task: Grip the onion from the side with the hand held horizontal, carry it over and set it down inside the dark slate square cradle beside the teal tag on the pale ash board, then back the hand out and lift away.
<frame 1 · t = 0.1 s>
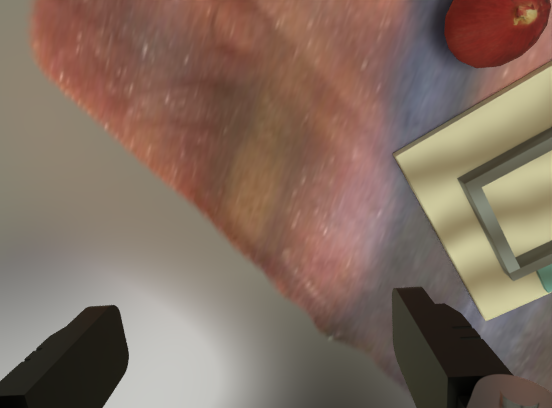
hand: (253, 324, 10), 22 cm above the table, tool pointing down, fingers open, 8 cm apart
onion: (466, 26, 27), on the table
cradle board: (535, 192, 32), on the table
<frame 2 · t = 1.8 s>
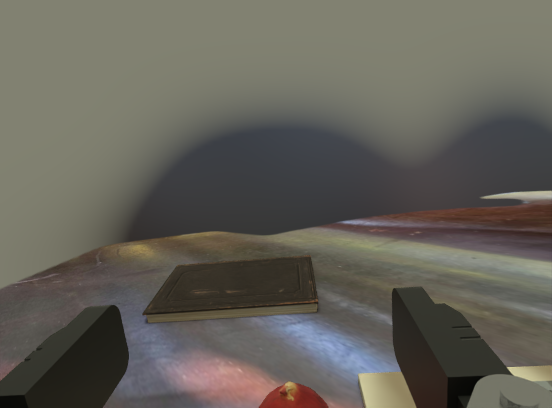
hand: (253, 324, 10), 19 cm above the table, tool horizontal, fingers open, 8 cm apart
hardcover book: (239, 294, 55), on the table
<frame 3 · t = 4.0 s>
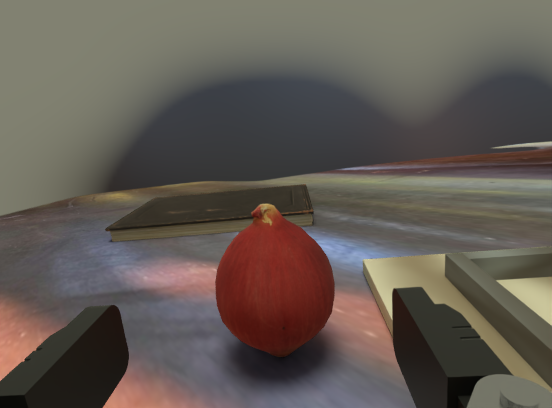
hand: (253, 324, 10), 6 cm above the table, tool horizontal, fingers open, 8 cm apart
hardcover book: (223, 220, 47), on the table
onion: (282, 355, 19), on the table
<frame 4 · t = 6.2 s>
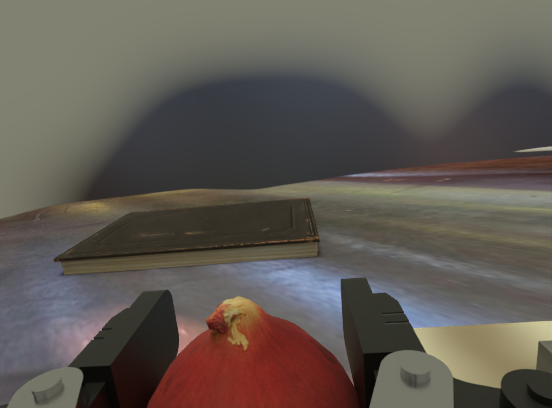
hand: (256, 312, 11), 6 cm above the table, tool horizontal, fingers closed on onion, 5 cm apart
hardcover book: (208, 243, 39), on the table
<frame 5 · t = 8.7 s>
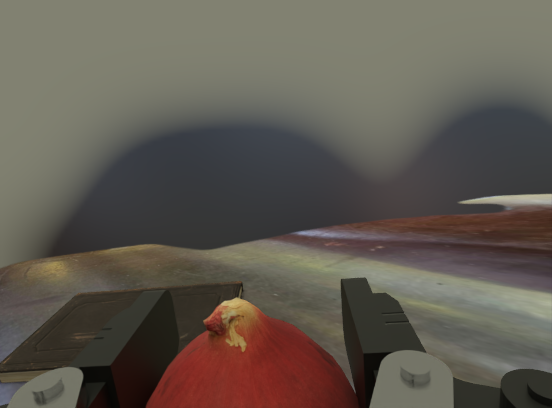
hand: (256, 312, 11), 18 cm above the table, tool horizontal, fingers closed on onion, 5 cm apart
hardcover book: (141, 335, 43), on the table
when the fingers open (8 cm above the table, at t = 11.4 s): onion drops 1 cm, resting on cradle board.
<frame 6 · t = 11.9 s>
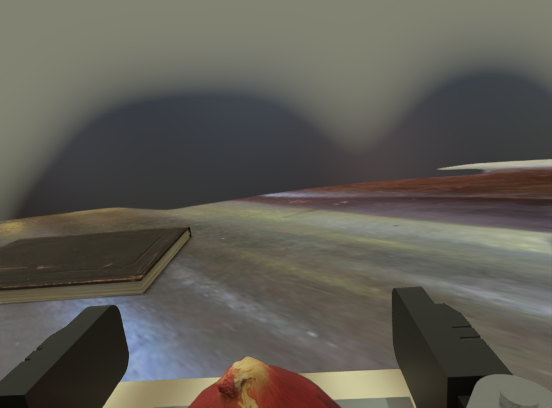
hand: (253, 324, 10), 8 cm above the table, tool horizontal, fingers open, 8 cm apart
hardcover book: (74, 273, 41), on the table
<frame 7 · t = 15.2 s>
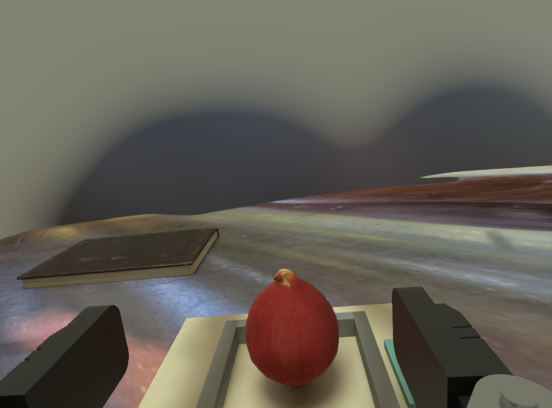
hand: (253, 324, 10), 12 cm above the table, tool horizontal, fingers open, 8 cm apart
hardcover book: (133, 264, 54), on the table
onion: (298, 385, 23), point 1 cm above the table, touching cradle board
cradle board: (298, 394, 24), on the table
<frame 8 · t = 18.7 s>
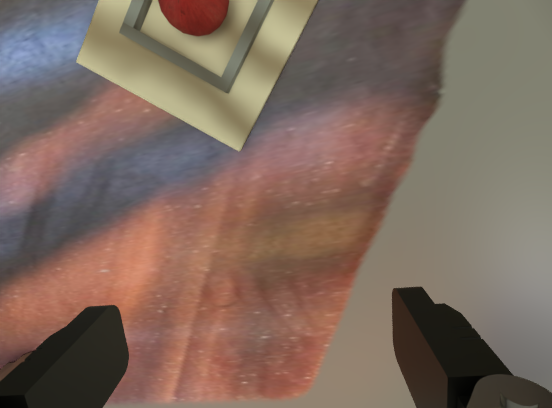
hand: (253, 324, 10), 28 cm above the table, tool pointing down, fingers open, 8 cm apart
onion: (204, 10, 34), point 1 cm above the table, touching cradle board
cradle board: (205, 12, 34), on the table
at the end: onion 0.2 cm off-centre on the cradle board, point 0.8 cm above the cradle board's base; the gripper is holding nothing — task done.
